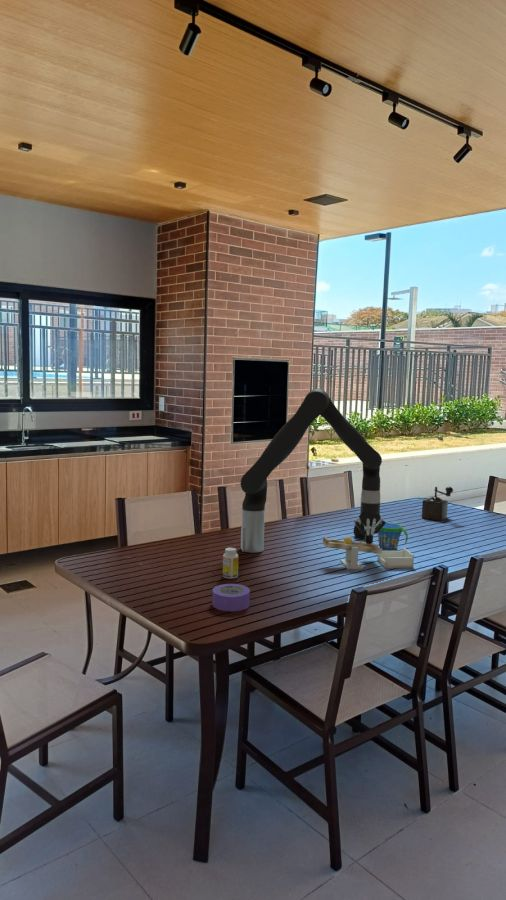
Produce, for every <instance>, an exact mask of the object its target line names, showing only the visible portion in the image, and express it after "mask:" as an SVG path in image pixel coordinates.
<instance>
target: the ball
mask: <svg viewBox="0 0 506 900" xmlns="http://www.w3.org/2000/svg"><path fill="white" fill-rule="evenodd" d="M343 541H344V543H345V544H351V543H352V542H353V539H352V537H350V536H346V537H344V539H343Z"/></svg>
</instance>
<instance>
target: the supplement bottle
mask: <svg viewBox="0 0 506 900" xmlns="http://www.w3.org/2000/svg"><path fill="white" fill-rule="evenodd" d="M222 576H223V578H224V579H229V580H230V579H231V580H232V579H236V578H237V579H238V577H239V554H238V553H237V548H235V547H227V548H225V549H224V553H223V554H222Z"/></svg>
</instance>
